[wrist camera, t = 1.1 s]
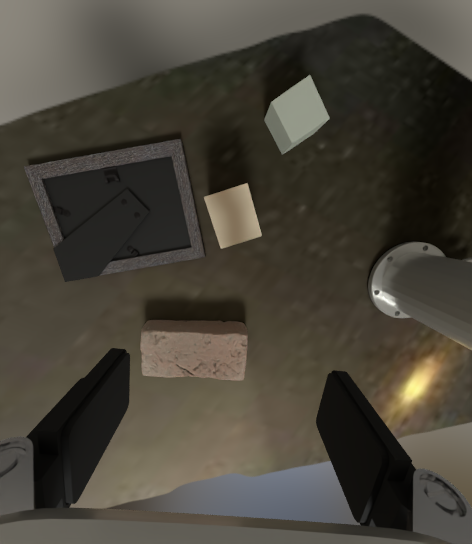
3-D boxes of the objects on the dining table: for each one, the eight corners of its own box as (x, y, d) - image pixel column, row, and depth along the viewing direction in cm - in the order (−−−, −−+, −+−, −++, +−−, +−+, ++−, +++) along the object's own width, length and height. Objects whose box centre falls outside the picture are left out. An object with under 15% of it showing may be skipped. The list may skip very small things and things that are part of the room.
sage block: (296, 97, 30) (309, 74, 25) (313, 133, 31) (329, 118, 26) (264, 120, 30) (271, 101, 25) (282, 154, 31) (292, 143, 26)
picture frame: (74, 278, 35) (206, 255, 35) (65, 281, 33) (204, 257, 33) (33, 169, 31) (182, 142, 31) (20, 165, 29) (179, 137, 29)
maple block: (242, 190, 32) (247, 182, 24) (254, 231, 34) (262, 235, 26) (209, 201, 32) (203, 197, 24) (222, 241, 34) (221, 248, 26)
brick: (149, 361, 39) (138, 380, 34) (146, 317, 37) (135, 331, 32) (243, 362, 40) (246, 381, 35) (246, 319, 38) (249, 334, 33)
